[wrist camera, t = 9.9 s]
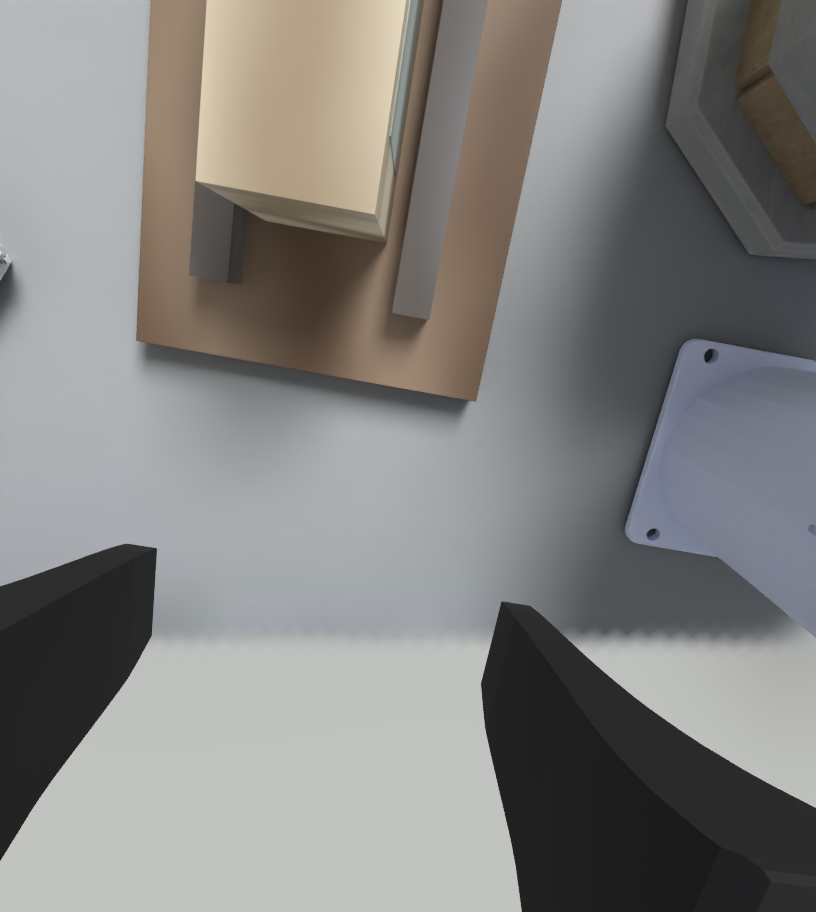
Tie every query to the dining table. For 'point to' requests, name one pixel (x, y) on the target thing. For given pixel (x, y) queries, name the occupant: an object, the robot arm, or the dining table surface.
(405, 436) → the dining table surface
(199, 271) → the walnut ledge
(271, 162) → the pale wooden bar
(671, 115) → the tankard
